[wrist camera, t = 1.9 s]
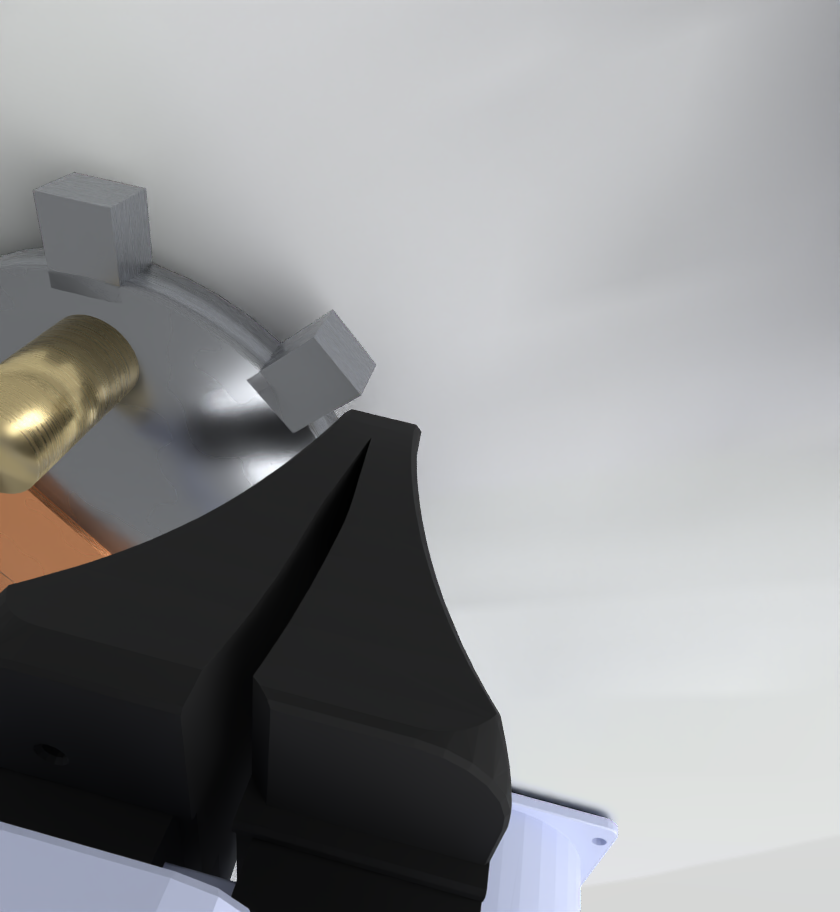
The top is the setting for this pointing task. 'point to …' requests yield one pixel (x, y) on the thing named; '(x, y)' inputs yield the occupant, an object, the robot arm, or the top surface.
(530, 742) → the top surface
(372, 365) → the sprocket
